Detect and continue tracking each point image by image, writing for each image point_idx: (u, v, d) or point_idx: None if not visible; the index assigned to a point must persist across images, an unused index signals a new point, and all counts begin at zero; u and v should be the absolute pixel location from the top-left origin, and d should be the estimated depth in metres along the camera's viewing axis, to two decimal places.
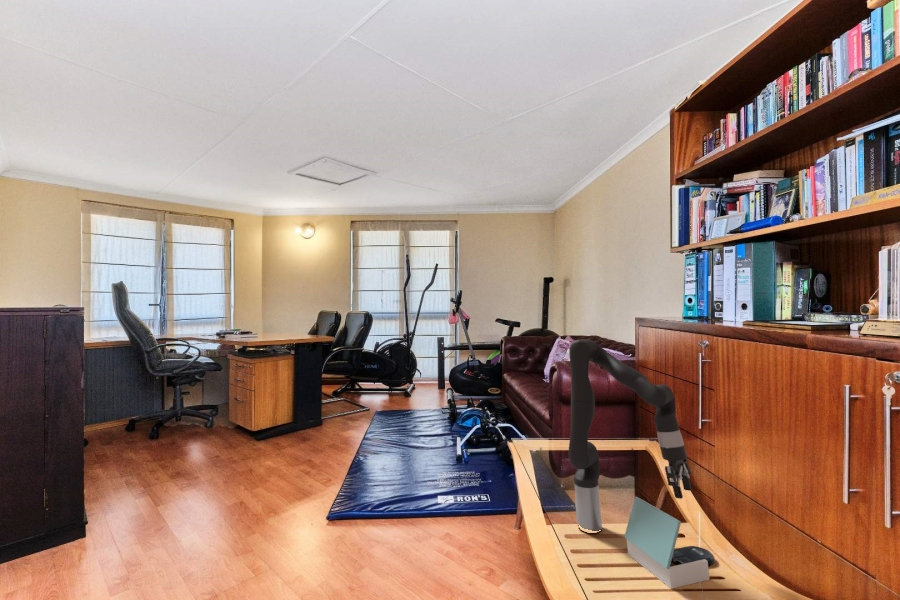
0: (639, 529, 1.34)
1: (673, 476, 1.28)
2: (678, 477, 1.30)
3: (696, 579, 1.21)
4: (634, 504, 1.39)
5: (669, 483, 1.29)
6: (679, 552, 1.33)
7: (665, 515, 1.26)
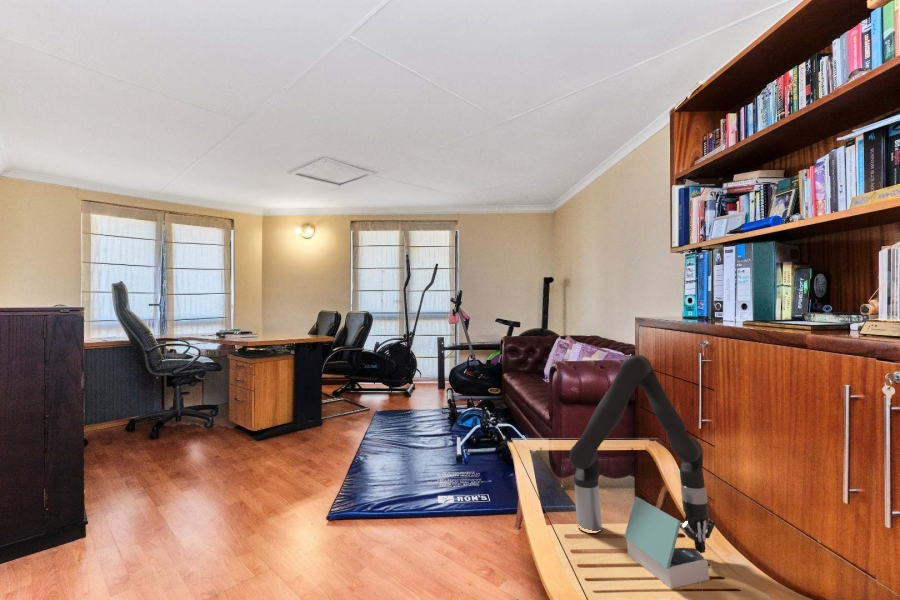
0: (639, 529, 1.34)
1: (689, 535, 1.32)
2: (691, 532, 1.32)
3: (696, 579, 1.21)
4: (634, 504, 1.39)
5: (689, 537, 1.34)
6: None
7: (665, 515, 1.26)
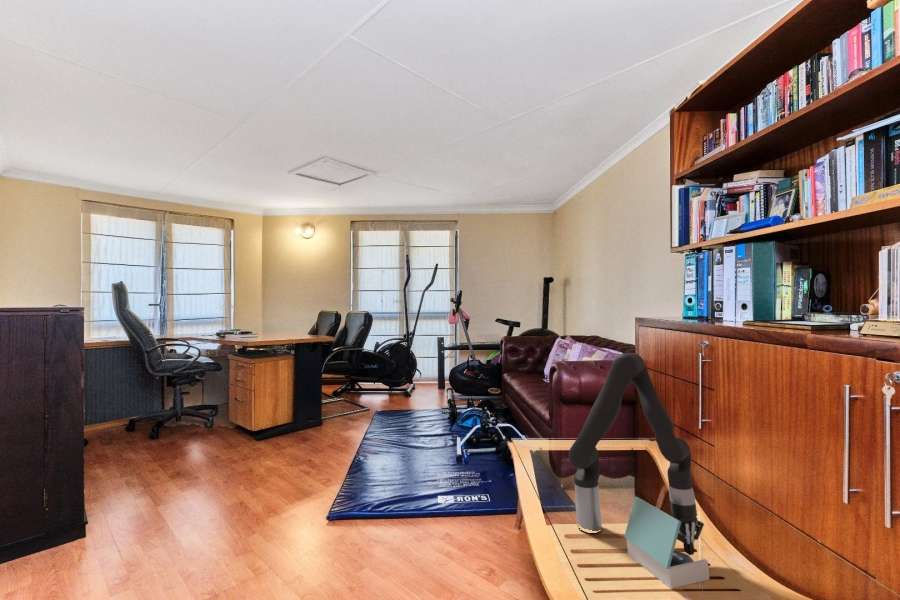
0: (639, 529, 1.34)
1: (678, 536, 1.30)
2: (679, 534, 1.30)
3: (696, 579, 1.21)
4: (634, 504, 1.39)
5: (678, 539, 1.32)
6: None
7: (665, 515, 1.26)
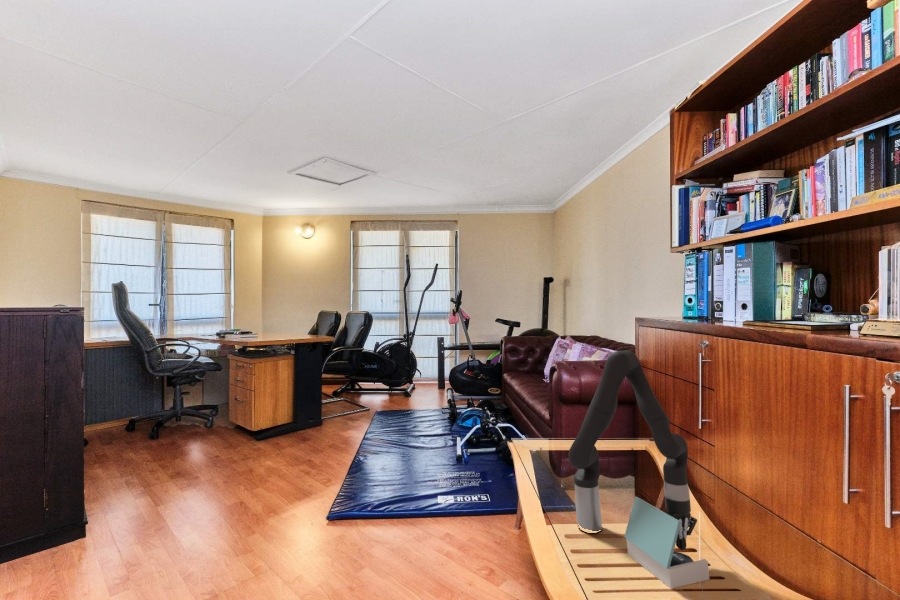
0: (639, 529, 1.34)
1: None
2: None
3: (696, 579, 1.21)
4: (634, 504, 1.39)
5: None
6: None
7: (665, 515, 1.26)
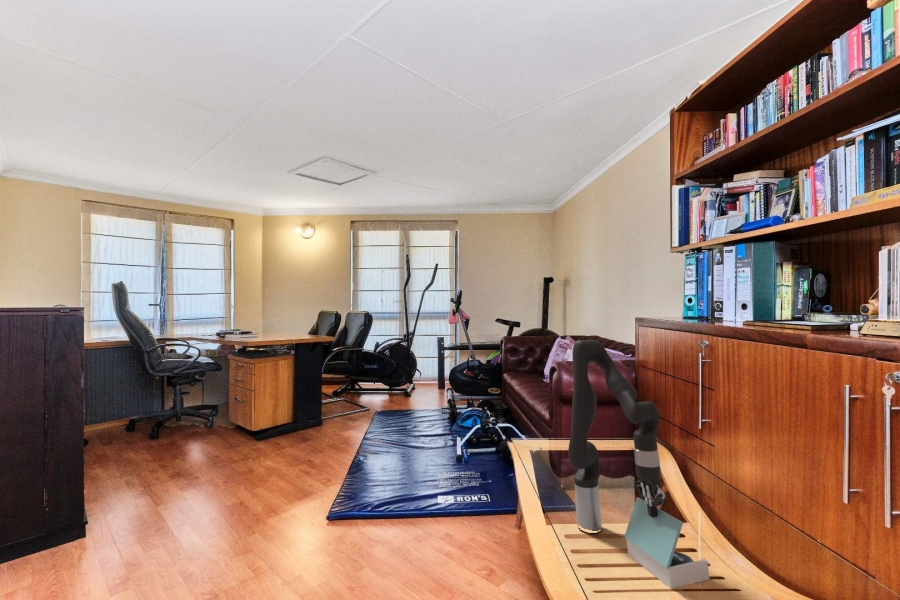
0: (639, 529, 1.34)
1: None
2: None
3: (696, 579, 1.21)
4: (635, 504, 1.39)
5: None
6: None
7: (667, 516, 1.27)
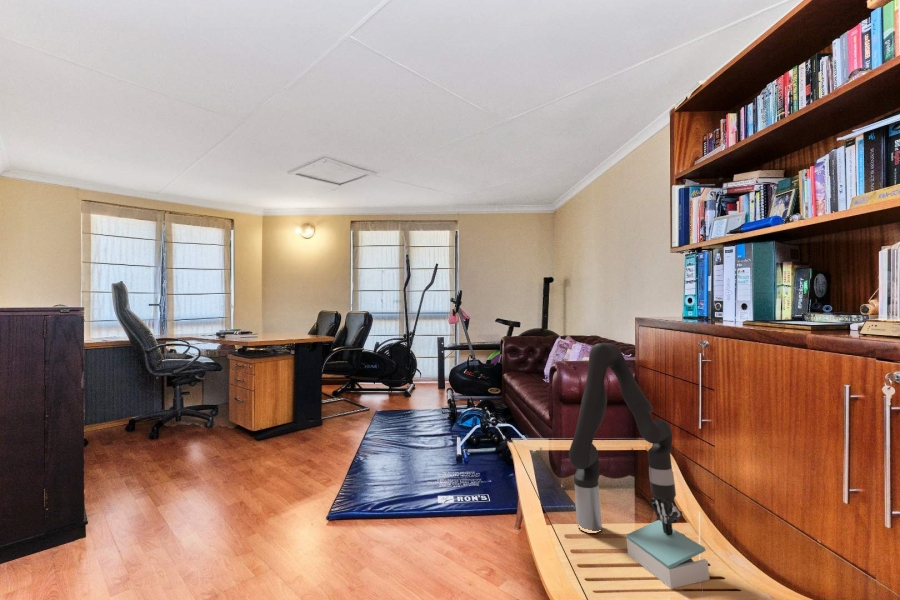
0: (649, 536, 1.34)
1: None
2: None
3: (696, 579, 1.21)
4: (653, 523, 1.40)
5: None
6: None
7: (689, 540, 1.28)
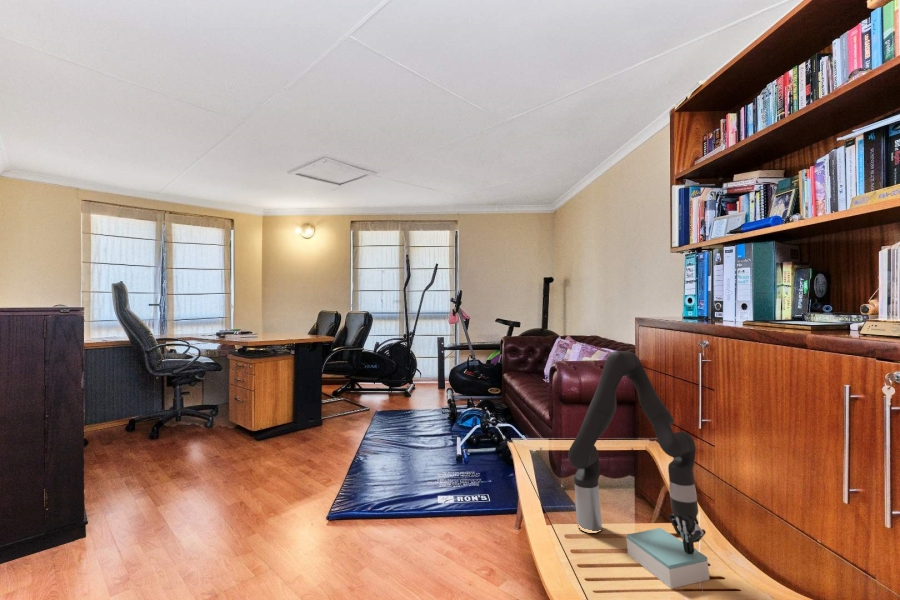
0: (650, 539, 1.34)
1: None
2: None
3: (696, 579, 1.21)
4: (655, 529, 1.40)
5: None
6: None
7: None
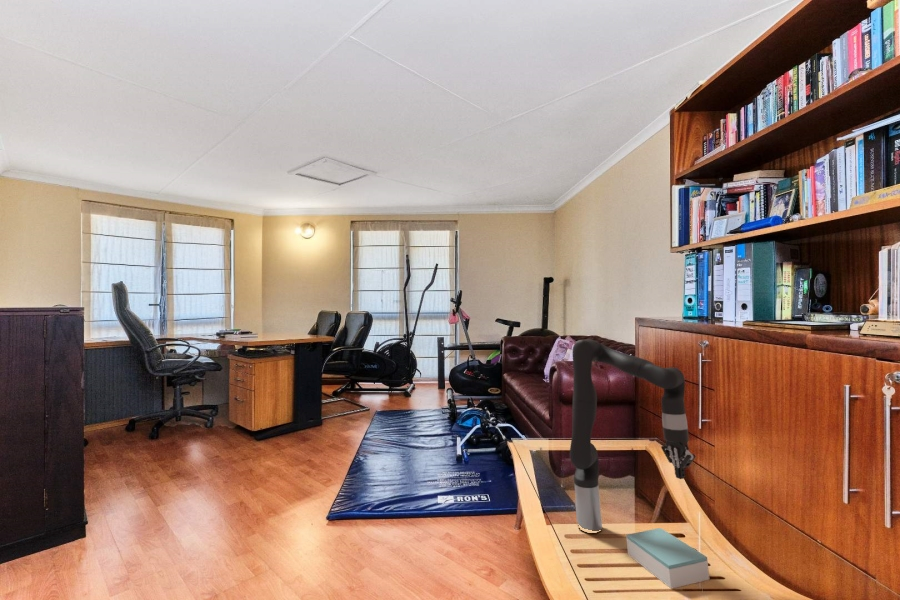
0: (650, 539, 1.34)
1: None
2: None
3: (696, 579, 1.21)
4: (655, 529, 1.40)
5: None
6: None
7: (691, 548, 1.27)
